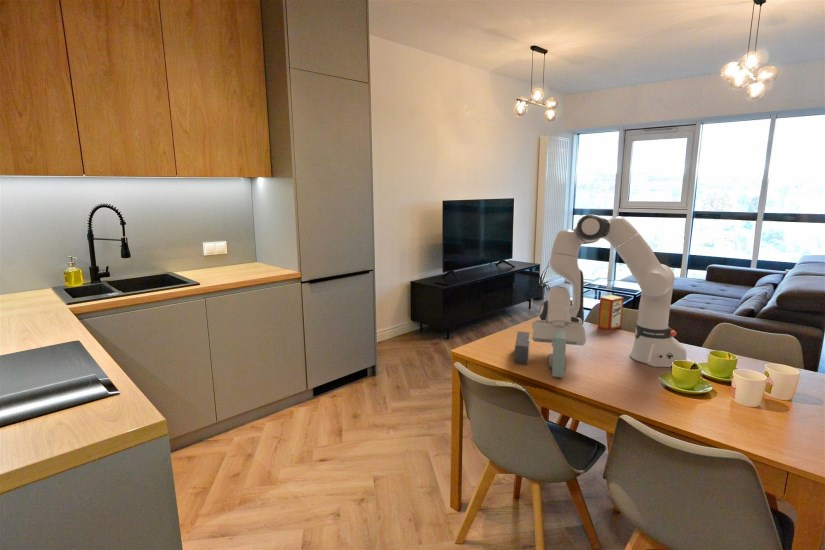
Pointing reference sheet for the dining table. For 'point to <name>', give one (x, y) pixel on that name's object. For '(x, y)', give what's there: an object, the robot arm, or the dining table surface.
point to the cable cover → (558, 353)
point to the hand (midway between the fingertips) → (558, 352)
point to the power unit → (522, 348)
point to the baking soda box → (610, 312)
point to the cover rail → (551, 361)
